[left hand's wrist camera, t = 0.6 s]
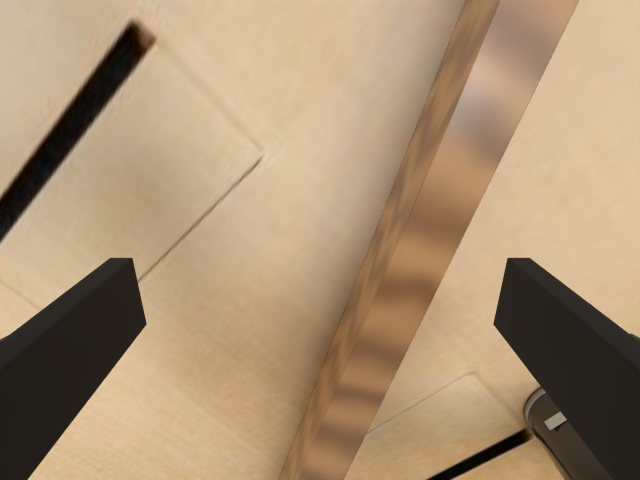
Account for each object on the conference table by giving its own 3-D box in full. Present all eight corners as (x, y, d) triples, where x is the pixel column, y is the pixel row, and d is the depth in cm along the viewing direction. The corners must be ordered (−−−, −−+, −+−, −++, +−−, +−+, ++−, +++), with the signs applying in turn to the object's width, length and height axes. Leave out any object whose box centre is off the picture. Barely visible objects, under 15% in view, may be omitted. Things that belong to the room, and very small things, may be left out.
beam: (529, -163, 26) (612, -266, 19) (587, -137, 27) (691, -227, 19) (263, 516, 56) (254, 582, 48) (294, 522, 56) (290, 588, 49)
